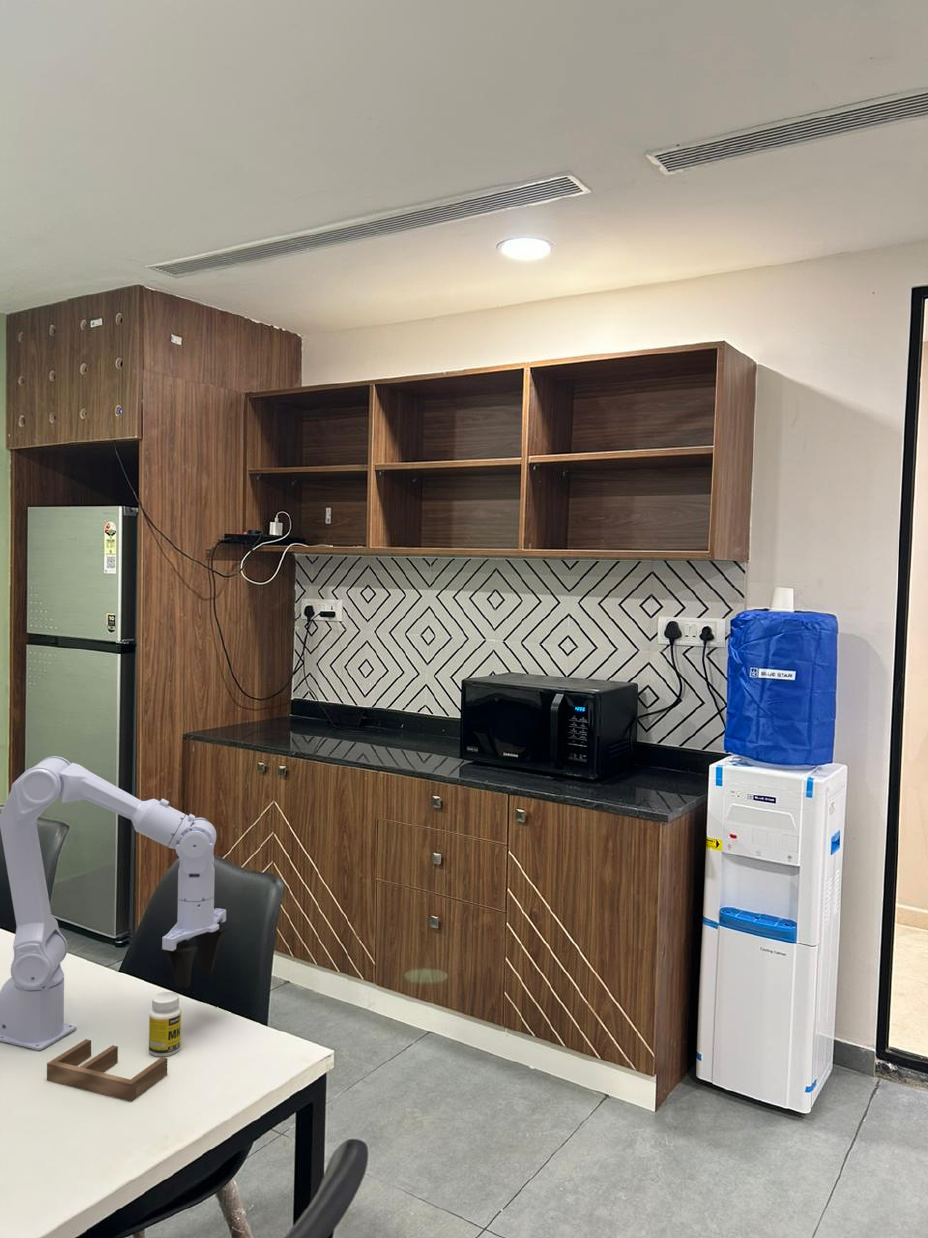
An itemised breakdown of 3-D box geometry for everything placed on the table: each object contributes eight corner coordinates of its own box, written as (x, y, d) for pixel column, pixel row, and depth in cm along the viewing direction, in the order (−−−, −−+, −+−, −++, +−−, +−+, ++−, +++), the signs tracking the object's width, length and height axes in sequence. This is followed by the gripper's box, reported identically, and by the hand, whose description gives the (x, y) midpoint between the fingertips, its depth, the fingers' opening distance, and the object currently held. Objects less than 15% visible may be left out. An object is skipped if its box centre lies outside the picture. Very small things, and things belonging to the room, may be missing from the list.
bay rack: (46, 1080, 139) (46, 1063, 139) (85, 1055, 147) (85, 1039, 147) (131, 1102, 134) (131, 1084, 134) (167, 1074, 142) (167, 1058, 141)
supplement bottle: (171, 1059, 146) (171, 1005, 146) (142, 1055, 147) (143, 1002, 147) (186, 1044, 151) (186, 992, 150) (158, 1041, 152) (159, 989, 151)
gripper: (189, 914, 147) (188, 1000, 147) (242, 886, 161) (240, 966, 161) (151, 907, 149) (150, 993, 150) (206, 881, 163) (205, 959, 163)
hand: (194, 978), depth 156 cm, fingers open, 6 cm apart
